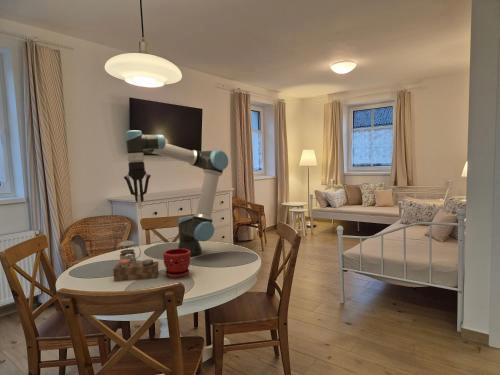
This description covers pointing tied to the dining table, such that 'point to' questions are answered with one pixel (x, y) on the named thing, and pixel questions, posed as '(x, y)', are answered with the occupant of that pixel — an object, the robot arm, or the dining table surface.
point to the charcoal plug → (147, 262)
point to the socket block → (135, 271)
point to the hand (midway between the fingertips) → (140, 208)
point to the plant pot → (177, 262)
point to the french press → (130, 251)
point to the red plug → (124, 262)
